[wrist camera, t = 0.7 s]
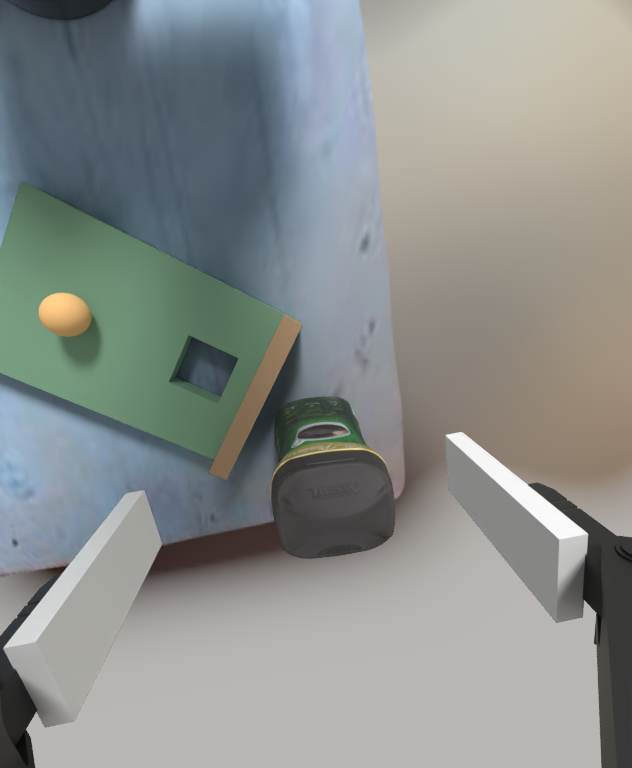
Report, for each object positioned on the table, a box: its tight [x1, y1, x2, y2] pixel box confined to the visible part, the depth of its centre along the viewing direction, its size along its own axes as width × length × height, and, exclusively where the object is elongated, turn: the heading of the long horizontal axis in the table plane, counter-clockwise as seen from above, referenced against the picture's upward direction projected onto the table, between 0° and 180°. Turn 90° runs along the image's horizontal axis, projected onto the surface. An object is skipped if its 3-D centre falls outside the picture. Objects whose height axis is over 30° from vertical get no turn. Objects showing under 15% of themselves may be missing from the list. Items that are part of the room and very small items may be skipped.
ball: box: [39, 293, 92, 337], centre depth 32 cm, size 4×4×4 cm
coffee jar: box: [270, 397, 395, 559], centre depth 33 cm, size 10×8×19 cm
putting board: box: [0, 182, 302, 480], centre depth 35 cm, size 28×18×6 cm, turn 64°
